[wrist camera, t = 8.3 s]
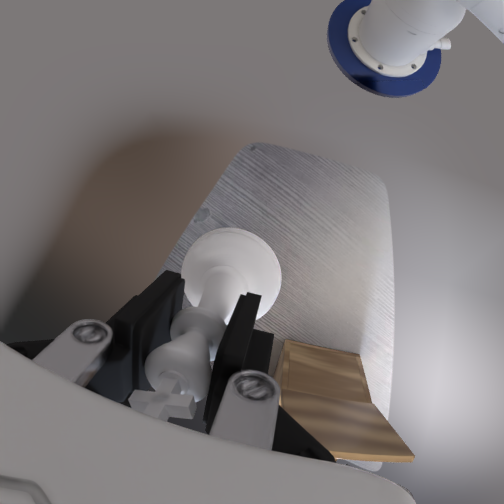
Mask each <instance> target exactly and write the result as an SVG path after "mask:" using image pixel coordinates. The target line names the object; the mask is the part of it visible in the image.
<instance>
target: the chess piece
mask: <svg viewBox="0 0 504 504" xmlns="http://www.w3.org/2000/svg"><path fill="white" fill-rule="evenodd" d="M181 278H183V279H185V288H184V292H185V294H186V296H187V298H188V300H189V301H190V303H191V304H192V305H193V306H194V307H188V308H185V309H182V310H180V311H179V312H178V313H177V314H176V315H175V316H174V317H173V319H172V323H171V328H170V336H171V340H172V341H170V342H168V343H165V344H163V345H161V346H159V347H157V348H156V349H154V350H153V351H152V352H151V353H150V354H149V355H148V357H147V358H146V361H145V374H146V377H147V379H148V381H149V383H150V384H151V386H152V387H153V388H154V389H155V390H156V392H150V391H142V390H134V392H133V393H132V395H131V396H130V398H129V399H128V400H129V403H130V405H131V407H132V409H134V410H137V411H139V412H142V413H144V414H147V415H150V416H152V417H155V418H158V419H161V420H164V421H166V422H167V420H168V418H169V417H177V418H187V419H193V416H194V414H195V412H196V409H197V406H196V402H198V401H200V400H202V399H203V398H205V397H206V396H207V395H208V391H209V386H210V381H211V375H212V370H211V366H210V361H213V360H215V356H216V353H217V349H218V347H219V344H220V342H221V339H222V337H223V335H224V332H225V330H226V328H227V325H228V323H229V321H230V318H231V316H232V313H233V311H234V309H235V306H236V304H237V302H238V299H239V297H240V295H241V294H242V295H246V294H247V292H250V293H254V294H258V295H262V297H261V301H260V305H259V309H258V312H257V316H256V320H257V319H259V318H260V317H262V316H263V315H264V314H265V313H266V312H267V311H268V310H269V309H270V308H271V307H272V305H273V304H274V302H275V300H276V298H277V296H278V294H279V291H280V287H281V279H282V277H281V268H280V265H279V262H278V259H277V257H276V255H275V253H274V252H273V250H272V249H271V248H270V246H269V245H268V244H267V243H266V242H265V241H263V240H262V239H261V238H260V237H258V236H257V235H255V234H253V233H251V232H248V231H246V230H243V229H238V228H220V229H215V230H212V231H210V232H207V233H206V234H204V235H202V236H201V237H200V238H198V239H197V240H196V241H195V242H194V243H193V245H192V246H191V247H190V249H189V251H188V253H187V254H186V256H185V259H184V261H183V265H182V271H181Z"/></svg>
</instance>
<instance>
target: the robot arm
mask: <svg viewBox="0 0 504 504" xmlns="http://www.w3.org/2000/svg"><path fill="white" fill-rule="evenodd" d="M466 9H468V10H469V11H470V12H471V13H473V15H475V16H476V17H477V18H478V19H479V20H480V21H481V22H483V24H485V26H486V27H487V28H489V29H490V30H491V31H492V32H493V33H494V34H495V35H496V36H497V37H498V38H499V39H500V40H501V42H502V43H503V44H504V0H372V1H371V3H370V5H369V6H366V7H363V8H362V9H360V10H358V11H357V12H356V13H355V14H354V15H353V17H352V18H351V20H350V23H349V26H348V40H349V44H350V46H351V49H352V51H353V52H354V54H355V55H356V57H357V58H358V59H359V60H360V61H361V62H362V63H363V64H364V65H365V66H367V67H368V68H369V69H371V70H373V71H374V72H376V73H379V74H381V75H384V76H388V77H405V76H408V75H411V74H413V73H414V72H416V71H417V70H418V69H420V68H421V66H422V65H423V64H424V62H425V59H426V56H427V51H428V50H433V49H434V48H438V49H450V48H451V42H450V40H449V39H448V38H442V37H443V36H444V35H446V34H447V33H448V32H450V31H451V30H452V29H454V28H455V27H456V26H457V25H458V24H459V23H460V22H461V20H462V19H463V17H464V14H465V11H466ZM362 13H363V14H362ZM352 40H355V42H354V41H352ZM411 66H412V67H413V68H412V67H411ZM378 67H379V68H380V70H379V69H378ZM184 288H185V279H183V278H181V274H179V273H175V272H172V271H168V270H166V271H165V272H164V273H162V274H161V275H160V276H159V277H158V278H157V279H156V280H155V281H154V282H153V283H152V284H151V285H149V286H148V287H147V288H146V289H145V290H144V291H143V292H142V293H141V294H140V295H139V296H137V295H136V296H134V297H133V298H132V299H131V300H130V301H129V302H128V303H126V304H125V305H124V306H123V307H122V308H121V309H120V310H119V311H118V312H117V313H116V314H115V315H114V316H112V317H111V318H110V320H108V321H107V322H106V323H104V322H102V321H98V320H92V319H86V320H81V321H77V322H75V323H74V324H72V325H71V326H70V327H68V328H67V330H65V331H64V332H63V333H62V334H60V335H59V336H58V337H57V338H56V339H51V340H41V341H28V342H15V343H10V344H7V345H5V344H4V343H2V342H1V341H0V504H416V503H415V501H414V498H413V495H412V494H411V493H410V491H409V490H408V489H407V488H405V487H403V486H401V485H398V484H395V483H394V482H391V481H390V480H388V479H386V478H383V477H380V476H378V475H375V474H373V473H370V472H368V471H365V470H361V469H357V468H355V467H352V466H350V465H348V464H346V465H342V464H338V463H336V461H335V458H334V456H333V455H332V454H331V453H330V452H329V450H327V449H326V448H325V447H324V446H323V445H322V444H321V443H320V442H318V441H317V440H316V439H315V438H314V437H313V436H312V435H311V434H310V433H308V432H307V431H306V430H305V429H304V428H303V427H302V426H301V425H300V424H299V423H298V422H297V421H296V420H295V419H293V418H292V417H291V416H290V415H289V414H288V413H287V412H286V411H285V410H284V409H283V408H282V407H281V406H280V405H279V399H280V387H279V385H278V383H277V381H276V380H274V379H273V378H272V377H271V376H269V375H268V369H269V363H270V357H271V350H272V344H273V338H274V334H272V333H268V332H264V331H260V330H256V329H253V328H254V324H255V320H256V316H257V312H258V309H259V305H260V301H261V297H262V295H258V294H254V293H250V292H247V294H246V295H242V294H241V295H240V297H239V299H238V302H237V304H236V306H235V309H234V311H233V313H232V316H231V318H230V321H229V323H228V325H227V328H226V330H225V332H224V335H223V337H222V339H221V342H220V344H219V347H218V349H217V353H216V356H215V360H214V365H213V370H212V375H211V381H210V386H209V391H208V396H207V401H206V406H205V412H204V418H203V423H206V424H207V425H206V432H207V434H208V435H207V434H203V433H200V432H197V431H194V430H190V429H187V428H184V427H181V426H178V425H175V424H172V423H169V422H166V421H164V420H161V419H158V418H155V417H152V416H150V415H147V414H144V413H142V412H139V411H137V410H134V409H132V407H131V405H130V403H129V400H128V399H129V398H130V396H131V395H132V393H133V392H134V390H142V391H148V389H149V388H150V386H151V384H150V383H149V381H148V379H147V377H146V374H145V361H146V358H147V357H148V355H149V354H150V353H151V352H152V351H153V350H154V349H156V348H157V347H159V346H161V345H163V344H165V343H168V342H170V341H172V340H171V336H170V328H171V323H172V319H173V317H174V316H175V315H176V314H177V313H178V312H179V311H180V310H182V302H183V295H184ZM119 403H121V404H119ZM122 404H124V405H126V406H124V405H122ZM127 406H129V407H131V408H129V407H127Z"/></svg>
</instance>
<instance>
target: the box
mask: <svg viewBox="0 0 504 504" xmlns="http://www.w3.org/2000/svg"><path fill="white" fill-rule="evenodd" d="M273 379H274V380H276V381H277V383H278V385H279V387H280V393H281V390H282V388H283V389H288V390H292V391H297V392H302V393H308V394H313V395H319V396H324V397H330V398H336V399H342V400H349V401H356V402H363V403H371V404H372V401H371V397H370V393H369V389H368V385H367V381H366V377H365V373H364V369H363V365H362V362H361V358H360V354H355V353H349V352H344V351H339V350H334V349H329V348H324V347H320V346H315V345H310V344H306V343H301V342H297V341H292V340H288V339H285V342H284V345H283V348H282V352H281V355H280V358H279V361H278V364H277V367H276V370H275V373H274V376H273ZM279 405H280V406H281V395H280V399H279ZM281 407H282V406H281ZM335 461H337V458H335Z"/></svg>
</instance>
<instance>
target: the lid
mask: <svg viewBox="0 0 504 504" xmlns="http://www.w3.org/2000/svg"><path fill="white" fill-rule="evenodd" d="M280 395H281V406H282V408H283V409H284V410H285V411H286V412H287V413H288V414H289V415H290V416H291V417H292V418H293V419H295V420H296V421H297V422H298V423H299V424H300V425H301V426H302V427H303V428H304V429H305V430H306V431H307V432H308V433H310V434H311V435H312V436H313V437H314V438H315V439H316V440H317V441H318V442H320V443H321V444H322V445H323V446H324V447H325V448H326V449H327V450H329V452H330V453H331V454H332V455H333V456H334V458H337V459H347V460H359V461H375V462H412V461H413V460H414V458H415V455H414V454H413V453H412V452H411V450H410V449H409V448H408V446H407V445H406V444H405V443H404V441H403V440H402V439H401V438H400V436H399V435H398V434H397V433H396V431H395V430H394V429H393V428H392V426H391V425H390V424H389V422H388V421H387V420H386V419H385V417H384V416H383V415H382V414H381V412H380V411H379V410H378V408H377V407H376V406H375V405H374V404H371V403H363V402H356V401H349V400H342V399H336V398H330V397H324V396H319V395H313V394H308V393H302V392H297V391H292V390H288V389H283V388H282V390H281V393H280Z"/></svg>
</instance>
